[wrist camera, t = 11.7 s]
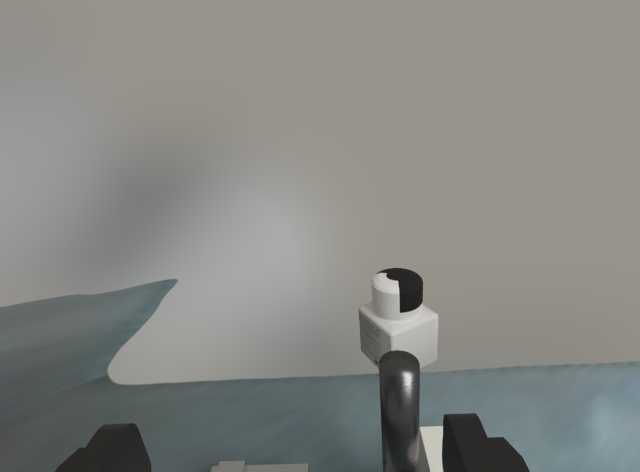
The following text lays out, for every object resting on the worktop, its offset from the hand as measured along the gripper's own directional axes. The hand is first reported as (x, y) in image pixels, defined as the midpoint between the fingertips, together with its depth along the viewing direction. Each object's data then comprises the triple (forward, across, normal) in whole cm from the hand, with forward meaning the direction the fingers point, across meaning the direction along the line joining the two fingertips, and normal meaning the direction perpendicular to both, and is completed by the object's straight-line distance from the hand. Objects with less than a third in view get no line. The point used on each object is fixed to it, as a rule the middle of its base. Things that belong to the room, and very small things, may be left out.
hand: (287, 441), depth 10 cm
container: (+36, -8, +28) cm, 47 cm away
